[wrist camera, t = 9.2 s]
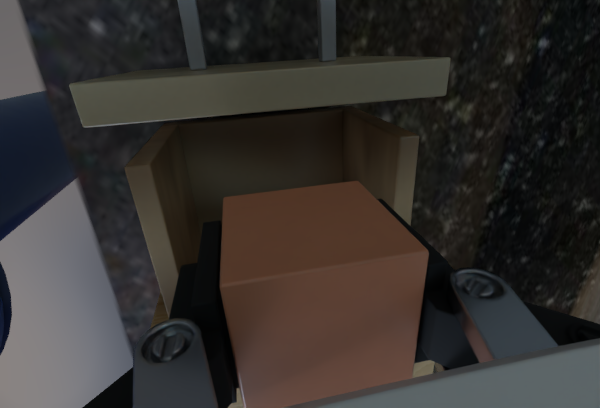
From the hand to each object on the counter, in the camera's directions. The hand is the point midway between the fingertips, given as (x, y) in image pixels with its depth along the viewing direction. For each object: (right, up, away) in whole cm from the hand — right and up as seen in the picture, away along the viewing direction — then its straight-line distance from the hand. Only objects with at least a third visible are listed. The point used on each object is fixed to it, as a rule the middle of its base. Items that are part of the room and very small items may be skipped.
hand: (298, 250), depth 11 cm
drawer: (-2, +5, +7) cm, 9 cm away
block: (0, 0, 0) cm, 0 cm away
